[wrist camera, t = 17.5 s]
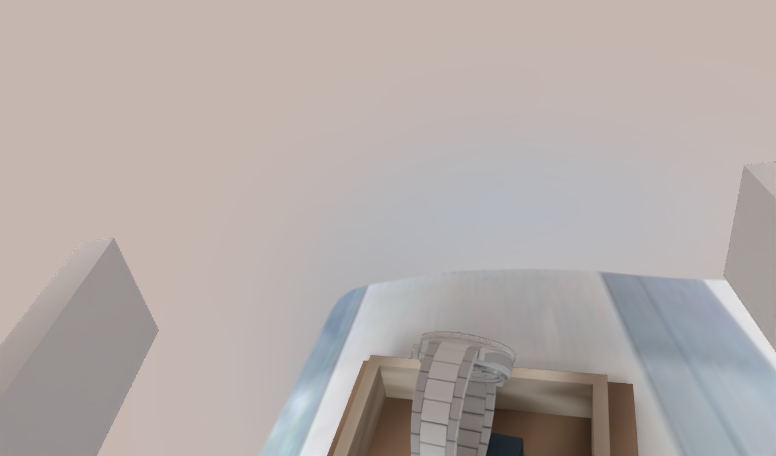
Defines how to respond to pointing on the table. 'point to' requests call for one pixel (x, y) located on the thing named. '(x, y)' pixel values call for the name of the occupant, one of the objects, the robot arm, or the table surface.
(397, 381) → the board
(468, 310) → the table surface
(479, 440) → the watch
